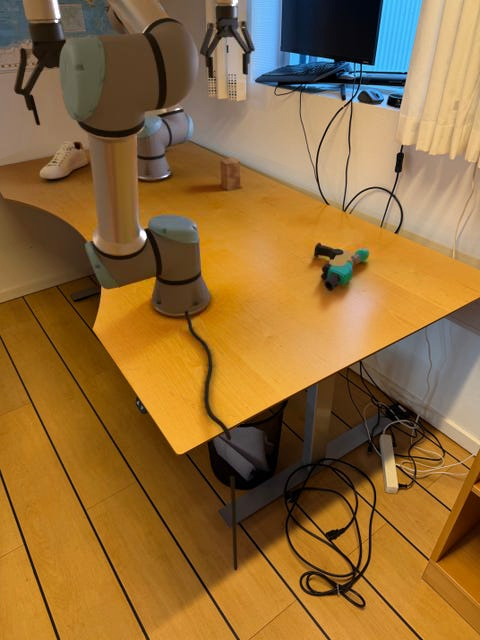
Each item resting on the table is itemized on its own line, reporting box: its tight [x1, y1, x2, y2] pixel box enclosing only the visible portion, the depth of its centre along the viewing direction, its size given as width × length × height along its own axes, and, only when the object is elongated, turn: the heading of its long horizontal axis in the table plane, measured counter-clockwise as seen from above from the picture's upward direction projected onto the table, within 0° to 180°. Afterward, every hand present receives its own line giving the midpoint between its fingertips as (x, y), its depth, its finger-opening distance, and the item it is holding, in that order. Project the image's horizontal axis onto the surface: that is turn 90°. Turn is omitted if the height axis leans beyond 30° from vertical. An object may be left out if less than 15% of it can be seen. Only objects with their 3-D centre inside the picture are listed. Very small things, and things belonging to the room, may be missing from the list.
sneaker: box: [39, 141, 89, 180], centre depth 207 cm, size 10×29×12 cm, turn 163°
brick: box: [219, 157, 242, 191], centre depth 191 cm, size 6×6×11 cm
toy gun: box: [313, 242, 370, 292], centre depth 136 cm, size 4×26×15 cm
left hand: (228, 76), depth 170 cm, fingers open, 13 cm apart
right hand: (66, 120), depth 120 cm, fingers open, 13 cm apart
